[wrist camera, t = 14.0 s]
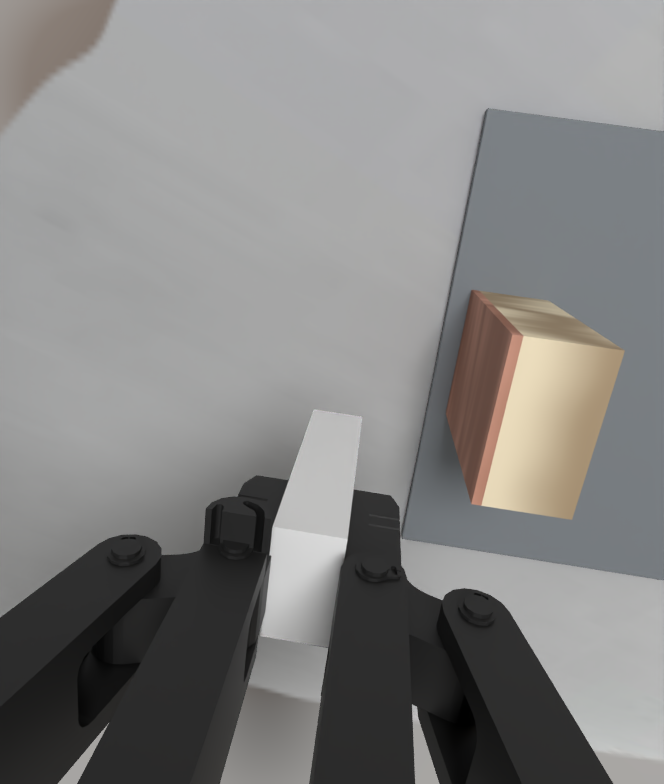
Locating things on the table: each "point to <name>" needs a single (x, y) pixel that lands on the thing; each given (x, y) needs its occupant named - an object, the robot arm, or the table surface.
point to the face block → (528, 403)
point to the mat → (585, 303)
